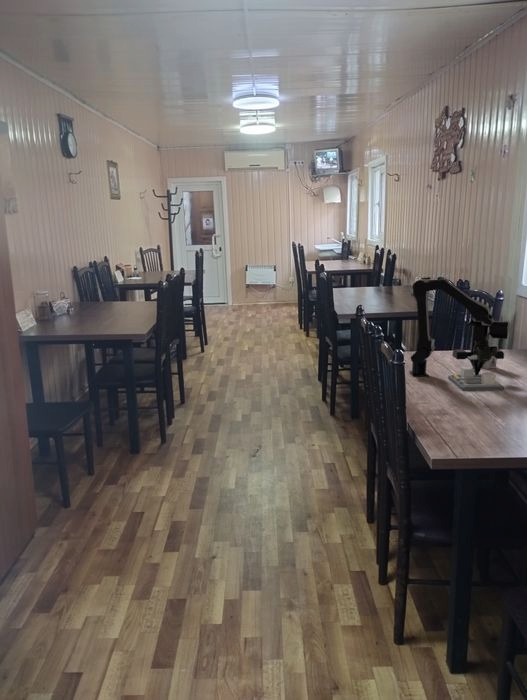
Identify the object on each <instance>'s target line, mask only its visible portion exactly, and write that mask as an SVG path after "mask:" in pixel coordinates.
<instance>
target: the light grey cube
mask: <svg viewBox="0 0 527 700" xmlns="http://www.w3.org/2000/svg"><path fill="white" fill-rule="evenodd" d="M460 374H461V375H460V377H461V378H474V374H475V373H474V369H473V367H472V366H461V367H460Z"/></svg>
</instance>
